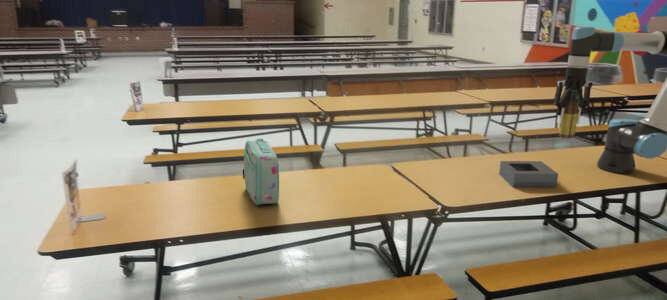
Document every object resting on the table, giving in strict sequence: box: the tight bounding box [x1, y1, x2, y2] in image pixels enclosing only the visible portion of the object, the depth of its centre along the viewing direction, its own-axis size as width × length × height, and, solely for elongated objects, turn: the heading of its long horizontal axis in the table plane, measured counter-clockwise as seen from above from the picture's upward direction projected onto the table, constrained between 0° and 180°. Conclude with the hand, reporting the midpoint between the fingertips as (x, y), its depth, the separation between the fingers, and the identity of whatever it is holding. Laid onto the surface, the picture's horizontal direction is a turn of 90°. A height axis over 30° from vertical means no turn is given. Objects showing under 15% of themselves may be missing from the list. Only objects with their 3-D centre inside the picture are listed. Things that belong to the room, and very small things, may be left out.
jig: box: [498, 160, 559, 189], centre depth 199 cm, size 18×16×6 cm
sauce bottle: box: [557, 89, 578, 140], centre depth 192 cm, size 7×6×20 cm
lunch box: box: [242, 138, 280, 206], centre depth 179 cm, size 27×10×21 cm, turn 21°
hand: (567, 123), depth 193 cm, fingers closed on sauce bottle, 6 cm apart
